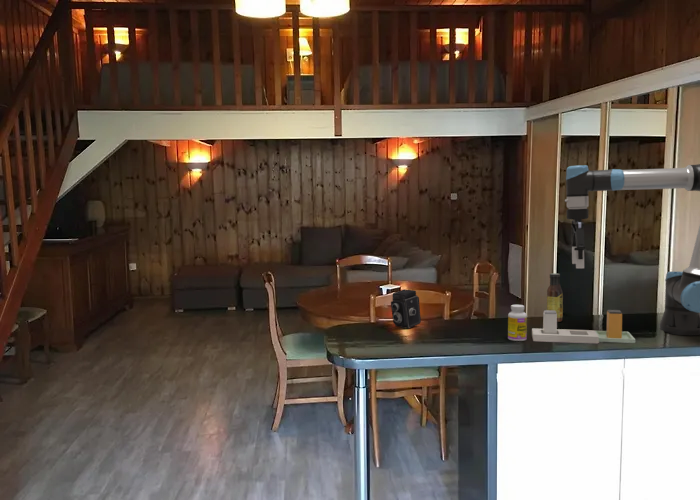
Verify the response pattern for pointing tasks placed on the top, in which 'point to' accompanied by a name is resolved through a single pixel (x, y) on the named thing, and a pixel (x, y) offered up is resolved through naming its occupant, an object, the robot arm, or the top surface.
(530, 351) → the top surface
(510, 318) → the supplement bottle
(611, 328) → the plug
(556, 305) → the sauce bottle
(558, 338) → the pdu strip
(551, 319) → the twin plug
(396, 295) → the camera
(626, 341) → the tray
